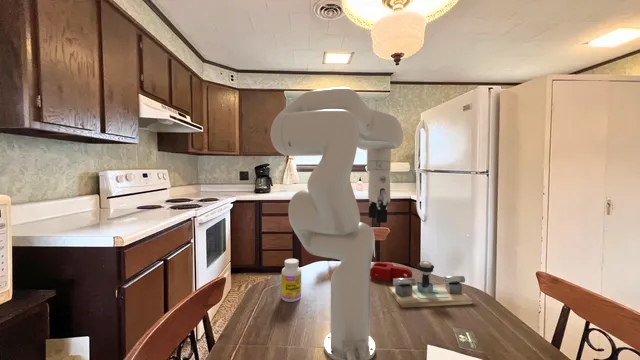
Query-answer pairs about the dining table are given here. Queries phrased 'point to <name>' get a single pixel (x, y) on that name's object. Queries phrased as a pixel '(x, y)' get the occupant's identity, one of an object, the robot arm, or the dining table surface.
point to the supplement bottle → (291, 281)
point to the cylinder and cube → (405, 287)
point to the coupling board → (431, 297)
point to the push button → (425, 277)
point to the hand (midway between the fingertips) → (377, 219)
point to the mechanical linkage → (388, 272)
